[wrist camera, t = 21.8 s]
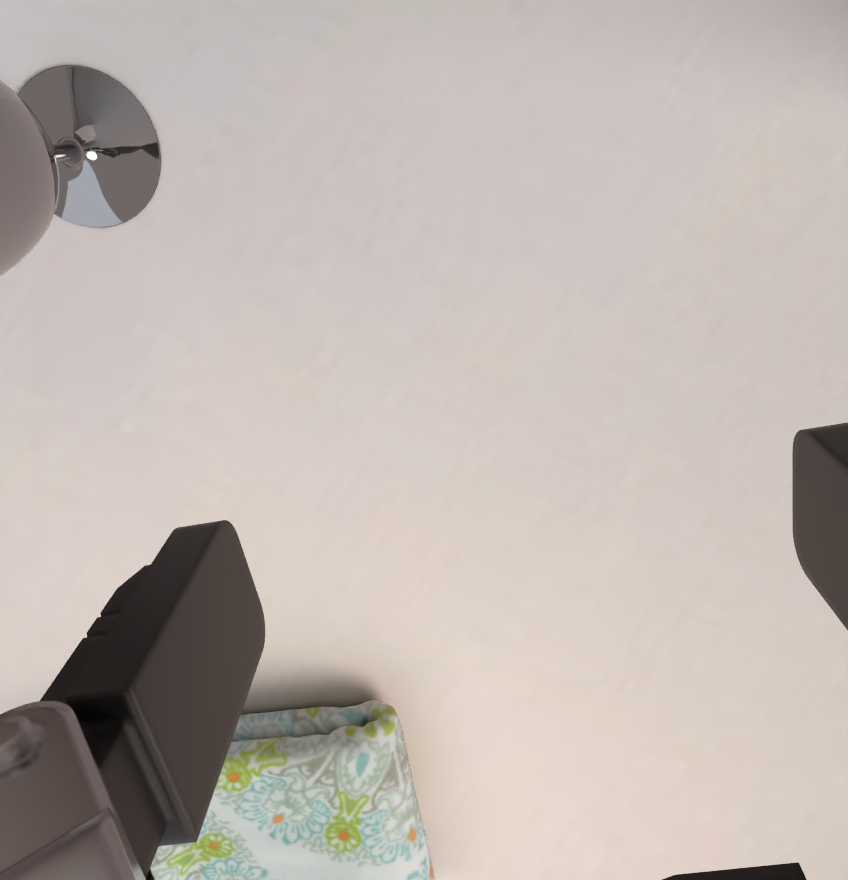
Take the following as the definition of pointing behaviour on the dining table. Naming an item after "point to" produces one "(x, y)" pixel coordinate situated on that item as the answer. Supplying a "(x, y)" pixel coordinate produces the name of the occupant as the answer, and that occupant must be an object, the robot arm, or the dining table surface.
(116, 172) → the wine glass
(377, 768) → the towel
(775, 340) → the dining table surface
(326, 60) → the dining table surface
